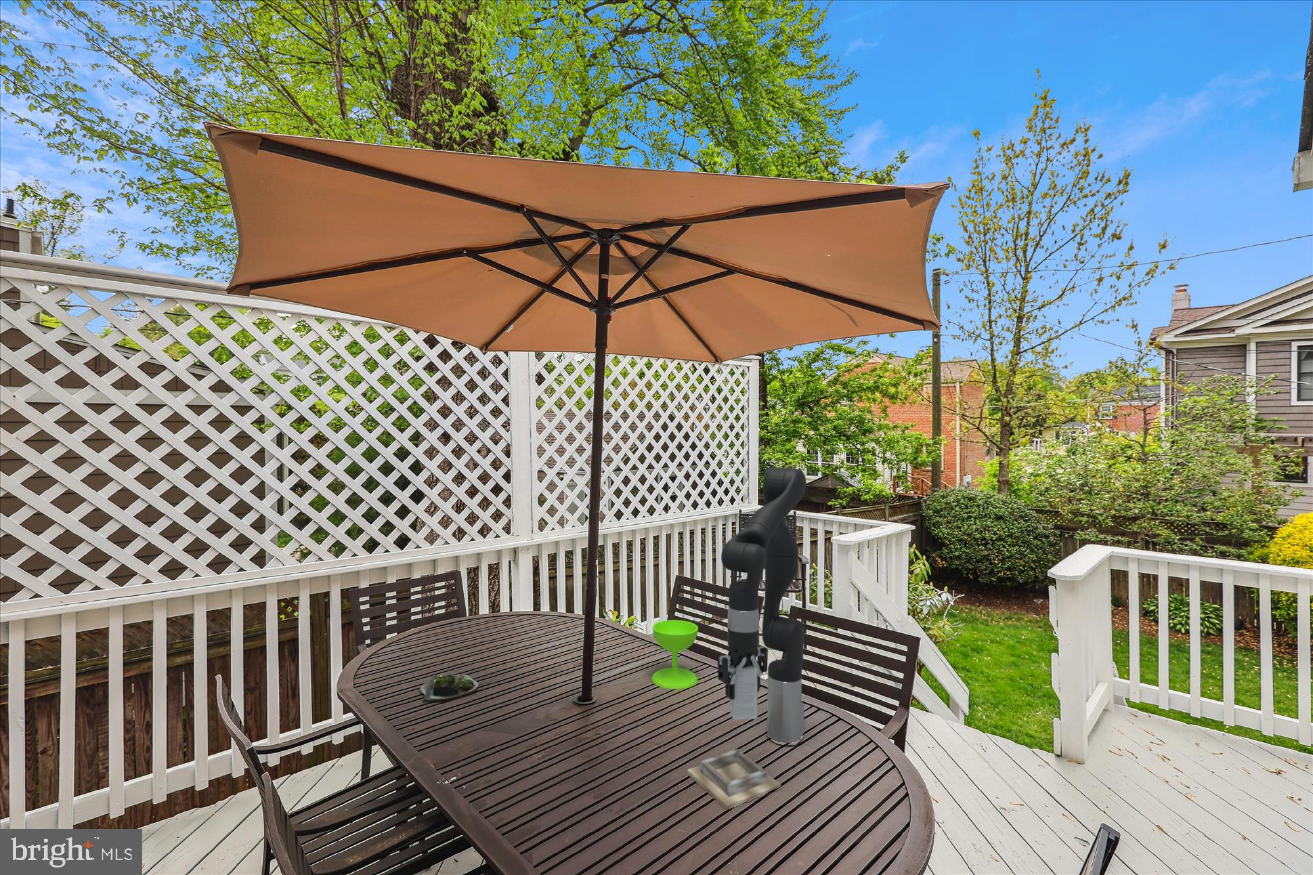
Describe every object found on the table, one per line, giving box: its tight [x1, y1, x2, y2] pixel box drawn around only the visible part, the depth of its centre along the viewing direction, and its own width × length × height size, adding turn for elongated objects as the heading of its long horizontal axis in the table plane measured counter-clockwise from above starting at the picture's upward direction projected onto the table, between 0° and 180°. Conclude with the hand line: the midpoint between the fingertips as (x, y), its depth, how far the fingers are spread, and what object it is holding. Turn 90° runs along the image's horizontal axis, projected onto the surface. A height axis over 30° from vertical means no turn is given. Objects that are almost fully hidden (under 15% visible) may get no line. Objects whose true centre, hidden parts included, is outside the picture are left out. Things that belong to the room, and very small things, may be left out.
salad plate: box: [419, 673, 480, 703], centre depth 184 cm, size 19×18×5 cm
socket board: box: [687, 748, 782, 811], centre depth 135 cm, size 16×16×4 cm
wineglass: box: [651, 619, 699, 690], centre depth 194 cm, size 16×16×18 cm
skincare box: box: [729, 665, 758, 720], centre depth 134 cm, size 6×4×12 cm
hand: (743, 694), depth 134 cm, fingers closed on skincare box, 7 cm apart
